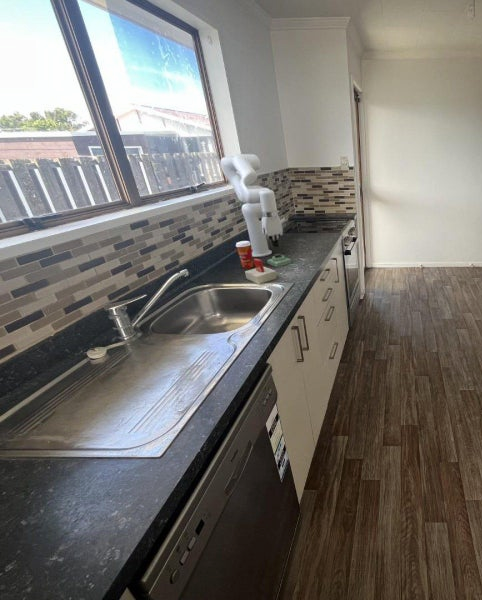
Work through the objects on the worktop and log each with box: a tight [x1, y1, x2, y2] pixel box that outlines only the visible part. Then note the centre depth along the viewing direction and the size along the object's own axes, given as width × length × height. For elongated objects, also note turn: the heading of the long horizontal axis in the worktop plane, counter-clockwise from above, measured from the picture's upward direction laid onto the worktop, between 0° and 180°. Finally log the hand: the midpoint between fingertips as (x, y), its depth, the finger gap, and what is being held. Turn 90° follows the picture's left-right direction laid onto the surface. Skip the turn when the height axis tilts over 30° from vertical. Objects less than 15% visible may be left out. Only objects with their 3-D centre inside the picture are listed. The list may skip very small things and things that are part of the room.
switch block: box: [266, 254, 292, 268], centre depth 188 cm, size 10×9×4 cm
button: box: [274, 253, 282, 258], centre depth 187 cm, size 4×4×2 cm
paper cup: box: [235, 240, 255, 269], centre depth 182 cm, size 8×8×14 cm
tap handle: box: [253, 258, 265, 273], centre depth 165 cm, size 6×2×6 cm, turn 51°
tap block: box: [244, 265, 278, 285], centre depth 167 cm, size 12×10×4 cm
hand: (275, 246), depth 186 cm, fingers closed
